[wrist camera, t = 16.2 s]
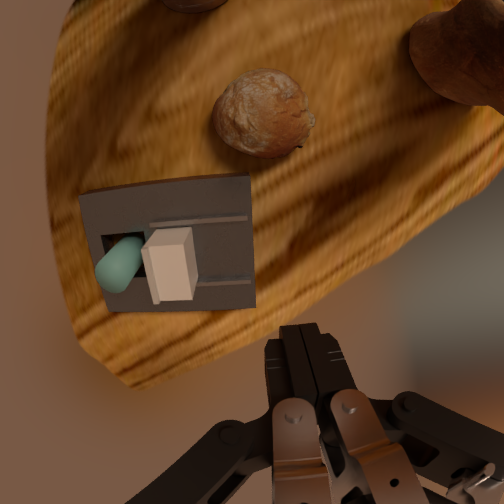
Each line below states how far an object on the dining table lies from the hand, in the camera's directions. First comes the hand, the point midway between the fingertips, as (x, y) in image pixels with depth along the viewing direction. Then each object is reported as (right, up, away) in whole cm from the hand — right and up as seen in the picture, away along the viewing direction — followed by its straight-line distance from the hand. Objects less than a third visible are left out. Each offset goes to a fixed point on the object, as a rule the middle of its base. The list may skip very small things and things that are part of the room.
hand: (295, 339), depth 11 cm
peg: (-17, +4, +22) cm, 28 cm away
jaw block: (-10, +4, +19) cm, 22 cm away
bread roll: (-1, +19, +17) cm, 25 cm away
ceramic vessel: (+23, +30, +13) cm, 40 cm away
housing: (-12, +5, +22) cm, 25 cm away
